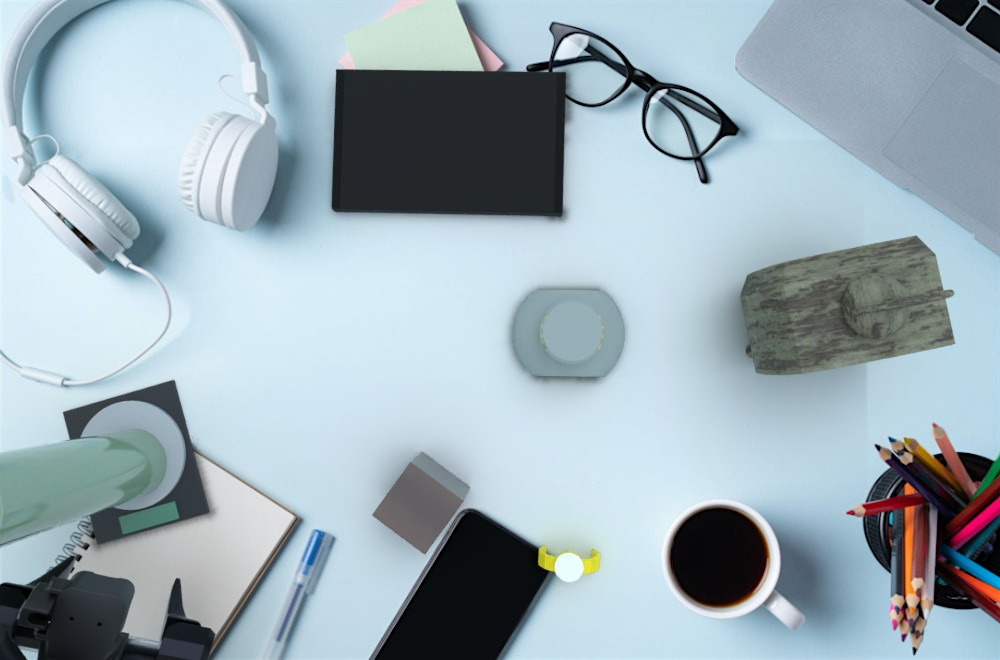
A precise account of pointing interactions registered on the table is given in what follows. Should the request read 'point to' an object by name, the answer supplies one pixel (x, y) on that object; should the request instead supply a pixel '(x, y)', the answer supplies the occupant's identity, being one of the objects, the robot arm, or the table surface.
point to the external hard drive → (449, 142)
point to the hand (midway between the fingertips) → (126, 570)
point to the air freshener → (568, 333)
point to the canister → (75, 480)
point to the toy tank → (846, 308)
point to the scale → (167, 423)
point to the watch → (569, 564)
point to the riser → (422, 502)
